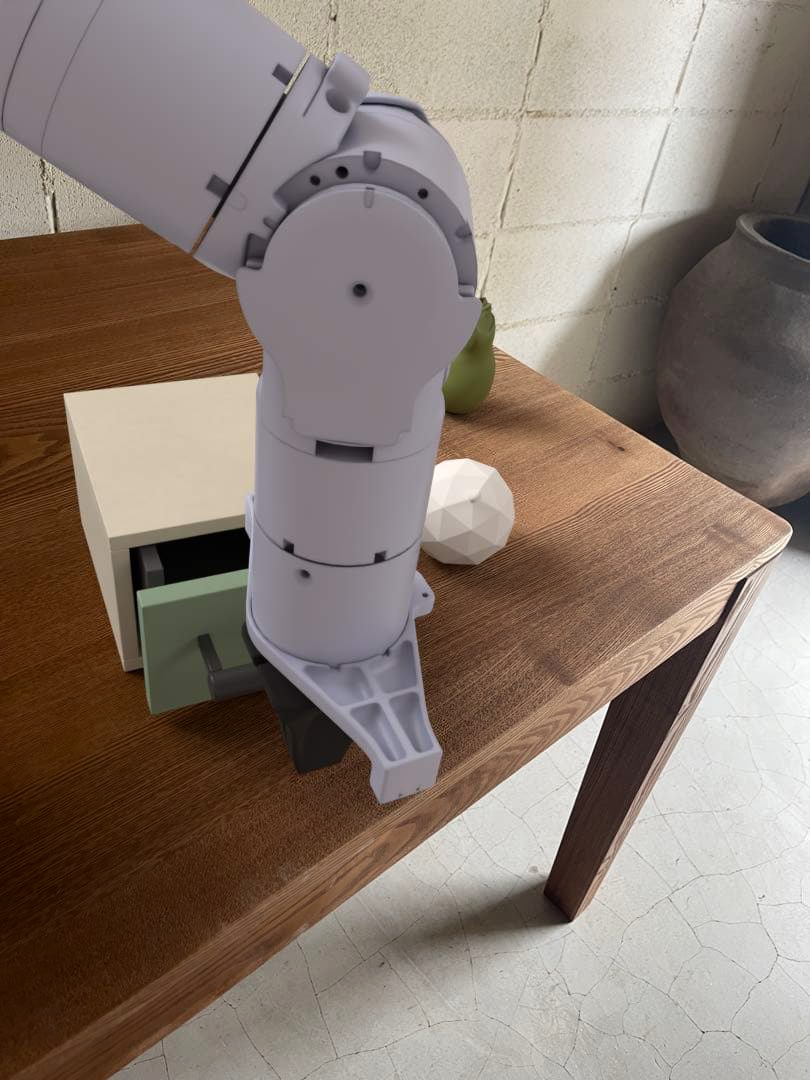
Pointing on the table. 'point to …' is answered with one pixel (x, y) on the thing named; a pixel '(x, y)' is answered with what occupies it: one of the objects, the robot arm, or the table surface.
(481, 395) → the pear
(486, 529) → the ornament
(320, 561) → the robot arm
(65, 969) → the table surface
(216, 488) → the storage box
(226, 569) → the drawer
